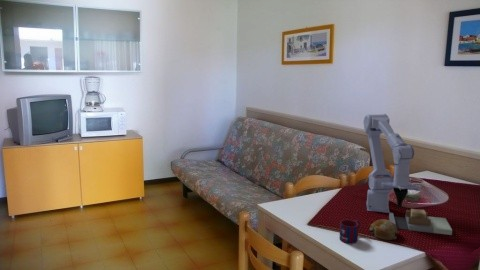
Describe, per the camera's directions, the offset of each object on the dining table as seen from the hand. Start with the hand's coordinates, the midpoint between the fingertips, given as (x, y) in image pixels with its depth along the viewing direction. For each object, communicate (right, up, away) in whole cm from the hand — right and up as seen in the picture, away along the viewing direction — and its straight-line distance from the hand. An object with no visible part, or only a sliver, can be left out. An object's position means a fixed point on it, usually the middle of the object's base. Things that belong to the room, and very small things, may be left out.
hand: (399, 205), depth 155 cm
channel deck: (+7, -8, -1) cm, 11 cm away
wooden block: (+7, -6, -1) cm, 9 cm away
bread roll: (-10, -10, -9) cm, 17 cm away
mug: (-24, -11, -12) cm, 28 cm away
